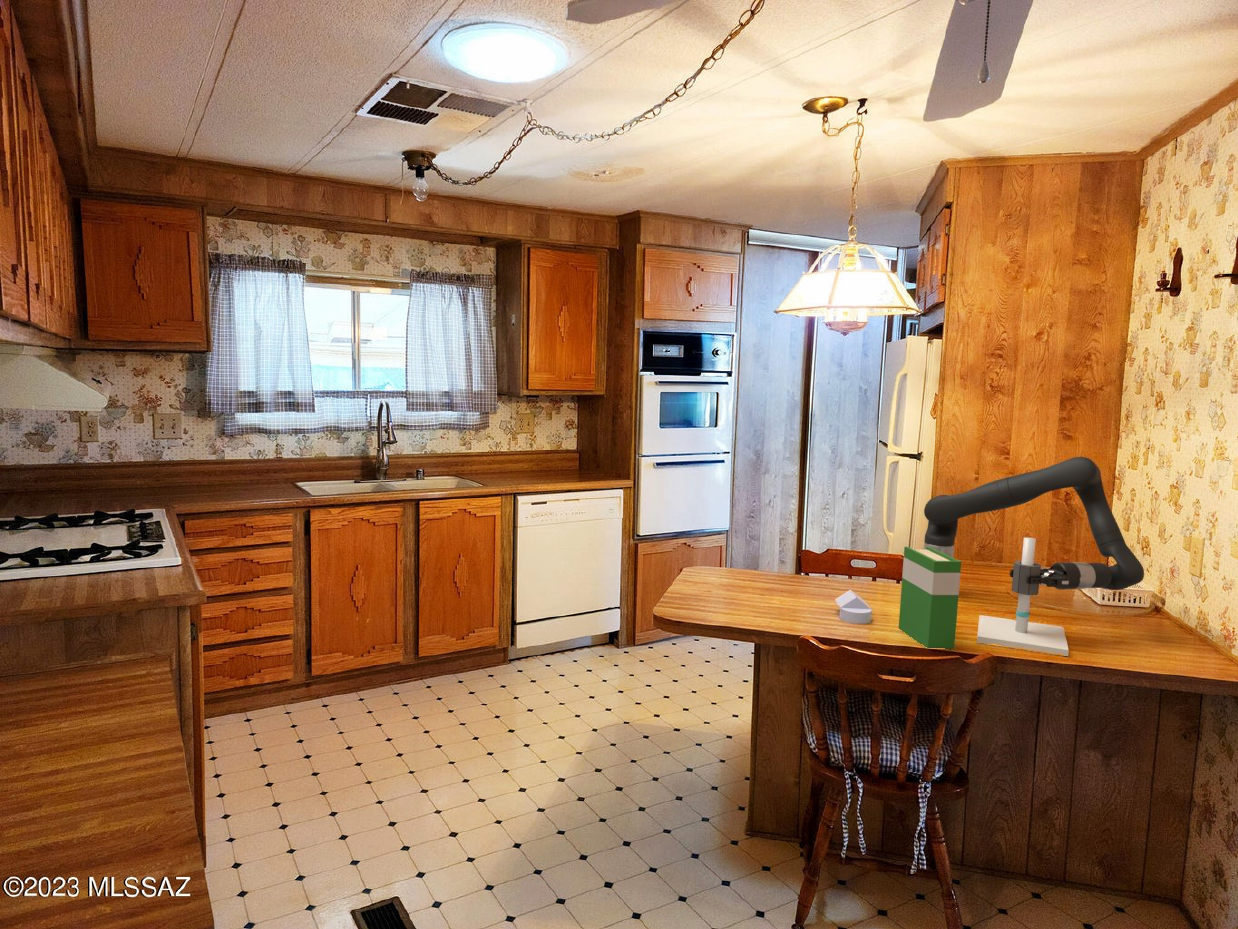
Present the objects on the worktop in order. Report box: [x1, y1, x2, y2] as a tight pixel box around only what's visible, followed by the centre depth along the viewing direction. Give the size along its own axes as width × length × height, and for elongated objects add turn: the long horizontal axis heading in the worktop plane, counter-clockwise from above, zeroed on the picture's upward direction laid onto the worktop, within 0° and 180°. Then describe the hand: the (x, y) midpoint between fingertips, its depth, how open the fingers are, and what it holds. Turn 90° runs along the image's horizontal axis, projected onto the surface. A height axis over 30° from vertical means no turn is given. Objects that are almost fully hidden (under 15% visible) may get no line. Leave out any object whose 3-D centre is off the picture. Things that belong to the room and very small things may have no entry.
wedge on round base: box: [834, 589, 872, 625], centre depth 243 cm, size 9×7×13 cm
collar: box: [1011, 560, 1042, 596], centre depth 226 cm, size 7×7×8 cm
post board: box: [976, 537, 1069, 657], centre depth 227 cm, size 22×22×28 cm
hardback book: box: [898, 546, 962, 650], centre depth 224 cm, size 18×7×24 cm, turn 6°
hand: (1018, 576), depth 226 cm, fingers closed on collar, 6 cm apart
